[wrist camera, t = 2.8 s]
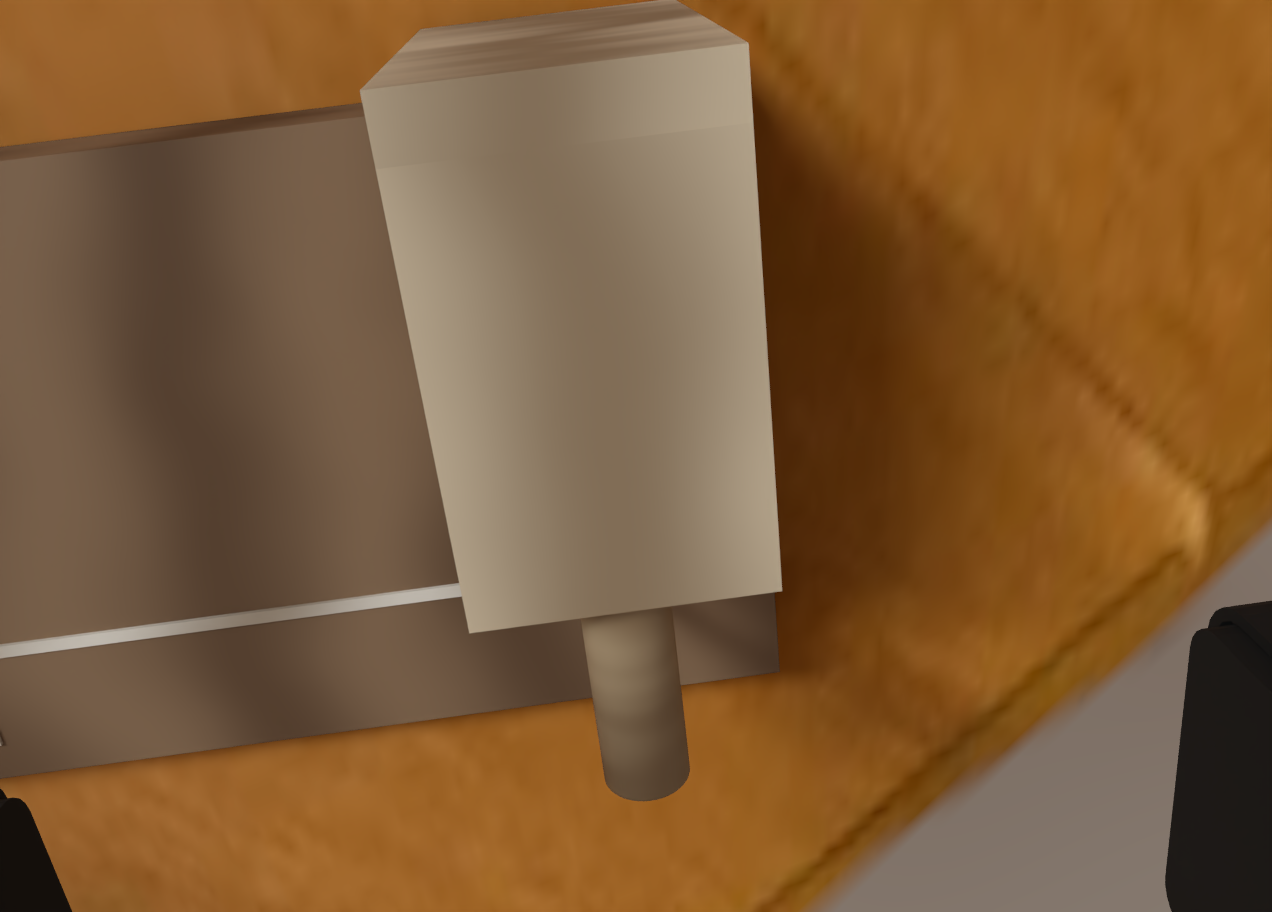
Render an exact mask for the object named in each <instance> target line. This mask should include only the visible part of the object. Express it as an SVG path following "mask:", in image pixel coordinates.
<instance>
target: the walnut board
mask: <svg viewBox="0 0 1272 912" xmlns="http://www.w3.org/2000/svg"><path fill="white" fill-rule="evenodd" d="M672 611H673V621H674V630H675V639H676V648H677V657H678V666H679V675H680V684H681V685H687V684H695V683H702V682H709V681H717V680H724V679H731V678H739V677H746V676H753V675H760V674H768V673H775V672H780V669H779V653H778V638H777V623H776V607H775V592H773V593H765V594H758V595H750V596H743V597H736V598H728V599H721V600H713V601H706V602H699V603H691V604H684V605H676V606H672ZM585 698H592V690H591V684H590V677H589V671H588V664H587V657H586V651H585V644H584V638H583V631H582V624H581V618H580V619H573V620H565V621H558V622H550V623H543V624H536V625H528V626H521V627H513V628H506V629H499V630H491V631H484V632H476V633H469V629H468V624H467V619H466V614H465V609H464V604H463V599H462V595H461V590H460V585H459V580H458V575H457V570H456V565H455V560H454V555H453V550H452V545H451V540H450V535H449V530H448V525H447V520H446V515H445V510H444V505H443V500H442V495H441V490H440V486H439V481H438V476H437V471H436V466H435V461H434V456H433V451H432V446H431V441H430V436H429V431H428V426H427V421H426V416H425V411H424V406H423V401H422V396H421V391H420V386H419V382H418V377H417V372H416V367H415V362H414V357H413V352H412V347H411V342H410V337H409V332H408V327H407V322H406V317H405V312H404V307H403V302H402V297H401V292H400V287H399V282H398V278H397V273H396V268H395V263H394V258H393V253H392V248H391V243H390V238H389V233H388V228H387V223H386V218H385V213H384V208H383V203H382V198H381V193H380V188H379V183H378V178H377V174H376V169H375V164H374V159H373V154H372V149H371V144H370V139H369V134H368V129H367V124H366V119H365V114H364V109H363V104H362V103H358V104H350V105H341V106H333V107H325V108H317V109H309V110H301V111H292V112H284V113H276V114H268V115H260V116H252V117H243V118H235V119H227V120H219V121H211V122H203V123H194V124H186V125H178V126H170V127H162V128H154V129H145V130H137V131H129V132H121V133H113V134H104V135H96V136H88V137H80V138H72V139H64V140H55V141H47V142H39V143H31V144H23V145H15V146H6V147H0V779H1V778H8V777H16V776H23V775H30V774H37V773H45V772H52V771H59V770H67V769H74V768H81V767H89V766H96V765H103V764H110V763H118V762H125V761H132V760H140V759H147V758H154V757H162V756H169V755H176V754H184V753H191V752H198V751H205V750H213V749H220V748H227V747H235V746H242V745H249V744H257V743H264V742H271V741H278V740H286V739H293V738H300V737H308V736H315V735H322V734H330V733H337V732H344V731H351V730H359V729H366V728H373V727H381V726H388V725H395V724H403V723H410V722H417V721H425V720H432V719H439V718H446V717H454V716H461V715H468V714H476V713H483V712H490V711H498V710H505V709H512V708H519V707H527V706H534V705H541V704H549V703H556V702H563V701H571V700H578V699H585Z"/></svg>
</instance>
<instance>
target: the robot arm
mask: <svg viewBox="0 0 1272 912" xmlns="http://www.w3.org/2000/svg"><path fill="white" fill-rule="evenodd" d="M1165 880H1166V881H1165V885H1166V892H1167V898H1168V901H1169V905H1170V908H1171V911H1172V912H1272V601H1266V602H1260V603H1252V604H1245V605H1238V606H1231V607H1224V608H1221V609H1219V610H1217V611H1216V612H1215V613H1214V614H1213V616H1212V617H1211V619H1210V622H1209V626H1208V628H1206V629H1201V630H1199V631H1197V632H1196V633H1195V634H1194V636H1193V638H1192V641H1191V646H1190V653H1189V663H1188V673H1187V682H1186V690H1185V700H1184V709H1183V718H1182V728H1181V737H1180V746H1179V755H1178V765H1177V775H1176V783H1175V793H1174V802H1173V811H1172V821H1171V829H1170V839H1169V848H1168V857H1167V866H1166V876H1165ZM0 912H72V910H71V908H70V905H69V903H68V901H67V898H66V896H65V893H64V891H63V889H62V886H61V884H60V881H59V879H58V877H57V874H56V872H55V869H54V867H53V865H52V862H51V860H50V857H49V855H48V853H47V850H46V848H45V845H44V843H43V841H42V838H41V836H40V833H39V831H38V829H37V826H36V824H35V821H34V819H33V817H32V814H31V812H30V810H29V808H28V807H27V805H26V803H24V802H23V801H22V800H21V799H18V798H8V799H7V797H6V795H5V794H4V792H3V791H2V790H1V789H0Z"/></svg>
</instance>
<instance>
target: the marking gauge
mask: <svg viewBox="0 0 1272 912" xmlns="http://www.w3.org/2000/svg"><path fill="white" fill-rule="evenodd" d="M360 94H361V99H362V104H363V109H364V114H365V119H366V124H367V129H368V134H369V139H370V144H371V149H372V154H373V159H374V164H375V169H376V174H377V178H378V183H379V188H380V193H381V198H382V203H383V208H384V213H385V218H386V223H387V228H388V233H389V238H390V243H391V248H392V253H393V258H394V263H395V268H396V273H397V278H398V282H399V287H400V292H401V297H402V302H403V307H404V312H405V317H406V322H407V327H408V332H409V337H410V342H411V347H412V352H413V357H414V362H415V367H416V372H417V377H418V382H419V386H420V391H421V396H422V401H423V406H424V411H425V416H426V421H427V426H428V431H429V436H430V441H431V446H432V451H433V456H434V461H435V466H436V471H437V476H438V481H439V486H440V490H441V495H442V500H443V505H444V510H445V515H446V520H447V525H448V530H449V535H450V540H451V545H452V550H453V555H454V560H455V565H456V570H457V575H458V580H459V585H460V590H461V595H462V599H463V604H464V609H465V614H466V619H467V624H468V629H469V633H476V632H484V631H491V630H499V629H506V628H513V627H521V626H528V625H536V624H543V623H550V622H558V621H565V620H573V619H580V618H581V624H582V631H583V638H584V644H585V651H586V657H587V664H588V671H589V677H590V684H591V690H592V697H593V704H594V710H595V717H596V724H597V730H598V737H599V743H600V750H601V757H602V763H603V770H604V776H605V781H606V784H607V786H608V787H609V788H610V789H611V791H613V792H614V793H615V794H617V795H618V796H620V797H623V798H625V799H629V800H634V801H651V800H656V799H660V798H663V797H666V796H668V795H670V794H672V793H674V792H675V791H677V790H678V789H679V788H680V787H681V786H682V785H683V784H684V783H685V781H686V780H687V778H688V776H689V772H690V765H689V756H688V747H687V738H686V729H685V720H684V711H683V702H682V693H681V684H680V675H679V666H678V657H677V648H676V639H675V630H674V621H673V611H672V606H676V605H684V604H691V603H699V602H706V601H713V600H721V599H728V598H736V597H743V596H750V595H758V594H765V593H773V592H780V591H782V578H781V562H780V546H779V530H778V513H777V497H776V481H775V465H774V449H773V432H772V416H771V400H770V384H769V367H768V351H767V335H766V319H765V303H764V286H763V270H762V254H761V238H760V222H759V205H758V189H757V173H756V157H755V140H754V124H753V108H752V92H751V76H750V59H749V43H748V42H746V41H744V40H743V39H741V38H739V37H738V36H736V35H734V34H733V33H731V32H729V31H728V30H726V29H724V28H722V27H721V26H719V25H717V24H716V23H714V22H712V21H711V20H709V19H707V18H706V17H704V16H702V15H700V14H699V13H697V12H695V11H694V10H692V9H690V8H689V7H687V6H685V5H684V4H682V3H680V2H678V1H677V0H658V1H650V2H641V3H633V4H625V5H617V6H608V7H600V8H592V9H583V10H575V11H567V12H559V13H550V14H542V15H534V16H526V17H517V18H509V19H501V20H492V21H484V22H476V23H468V24H459V25H451V26H443V27H435V28H426V29H420V30H419V31H418V32H417V33H416V34H415V35H414V36H413V37H412V38H411V39H410V40H409V41H408V42H407V43H406V44H405V45H404V46H403V47H402V48H401V49H400V50H399V51H398V52H397V53H396V54H395V55H394V56H393V57H392V58H391V59H390V60H389V61H388V62H387V63H386V64H385V65H384V67H383V68H382V69H381V70H380V71H379V72H378V73H377V74H376V75H375V76H374V77H373V78H372V79H371V80H370V81H369V82H368V83H367V84H366V85H365V86H364V87H363V88H362V89H361V90H360Z"/></svg>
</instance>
